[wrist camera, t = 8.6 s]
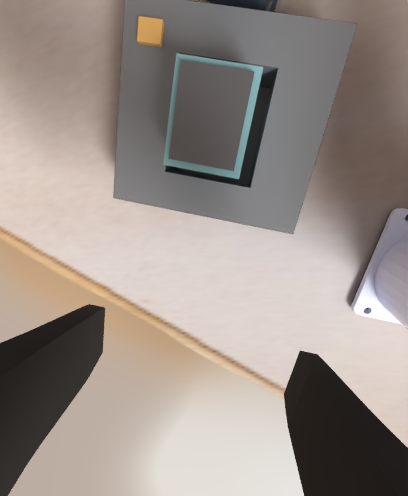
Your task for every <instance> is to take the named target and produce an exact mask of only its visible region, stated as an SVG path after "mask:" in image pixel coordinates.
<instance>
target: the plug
mask: <svg viewBox="0 0 408 496" xmlns="http://www.w3.org/2000/svg"><path fill="white" fill-rule="evenodd" d="M262 71H263V67H260V66H254V65H248V64H241V63H235V62H229V61H223V60H216V59H210V58H204V57H197V56H191V55H185V54H178V53H176V61H175V70H174V78H173V86H172V95H171V103H170V111H169V120H168V128H167V136H166V145H165V153H164V161H163V165H167V166H173V167H178V168H183V169H188V170H193V171H199V172H204V173H209V174H214V175H219V176H225V177H230V178H235V179H239V177H240V172H241V168H242V163H243V158H244V154H245V149H246V145H247V140H248V135H249V131H250V126H251V122H252V117H253V113H254V108H255V103H256V99H257V94H258V90H259V85H260V81H261V76H262Z"/></svg>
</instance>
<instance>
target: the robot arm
mask: <svg viewBox="0 0 408 496" xmlns="http://www.w3.org/2000/svg"><path fill="white" fill-rule="evenodd" d="M406 215H408V209H404V208H397V209H394V210H393V211H392V212H391V214H390V216H389V218H388V221H387V223H386V225H385V228H384V230H383V232H382V235H381V237H380V239H379V242H378V244H377V246H376V249H375V251H374V253H373V256H372V258H371V261H370V263H369V265H368V268H367V270H366V272H365V275H364V277H363V279H362V282H361V284H360V286H359V289H358V291H357V293H356V296H355V298H354V301H353V303H352V305H351V309H352V311H353V312H354V313H355V314H357V315H362V316H366V317H371V318H375V319H380V320H384V321H389V322H393V323H398V324H403V325H404V326H405V327H406V328H407V329H408V220H405V217H406ZM365 308H369V309H368V310H366V311H364V309H365ZM104 317H105V308H104V307H99V306H95V305H90V304H89V305H86V306H84V307H81V308H79V309H77V310H75V311H72V312H70V313H68V314H66V315H64V316H62V317H59V318H57V319H55V320H53V321H51V322H48V323H46V324H44V325H42V326H40V327H37V328H35V329H33V330H31V331H28V332H26V333H24V334H22V335H19V336H16V337H14V338H12V339H9V340H7V341H4V342H2V343H0V496H8V494H9V493H10V491H11V489H12V488H13V486H14V485H15V483H16V481H17V479H18V478H19V476H20V475H21V473H22V472H23V470H24V468H25V467H26V465H27V464H28V462H29V461H30V459H31V458H32V456H33V455H34V453H35V452H36V450H37V449H38V447H39V446H40V445H41V443H42V442H43V440H44V439H45V437H46V436H47V435H48V433H49V432H50V431H51V429H52V428H53V427H54V425H55V424H56V422H57V421H58V420H59V418H60V417H61V415H62V414H63V413H64V411H65V410H66V409H67V407H68V406H69V405H70V403H71V402H72V400H73V399H74V398H75V396H76V395H77V393H78V392H79V391H80V389H81V388H82V386H83V385H84V384H85V382H86V381H87V379H88V377H89V376H90V374H91V372H92V371H93V369H94V367H95V365H96V363H97V362H98V360H99V358H100V356H101V354H102V352H103V335H104ZM284 399H285V408H286V416H287V423H288V429H289V433H290V438H291V442H292V446H293V450H294V454H295V459H296V463H297V467H298V471H299V476H300V480H301V484H302V488H303V492H304V496H408V448H407V447H406V446H405V445H404V444H403V443H402V442H401V441H400V440H399V439H398V438H397V437H396V436H395V435H394V434H393V433H392V432H391V431H390V430H389V429H388V428H387V427H386V426H385V425H384V424H383V423H382V422H381V421H380V420H379V419H378V418H377V417H376V416H375V415H374V414H373V413H372V412H371V411H370V410H369V409H368V408H367V406H366V405H365V404H364V403H363V402H362V401H361V400H360V399H359V398H358V397H357V396H356V395H355V394H354V393H353V392H352V390H351V389H350V388H349V387H348V386H347V385H346V384H345V383H344V382H343V381H342V380H341V379H340V378H339V376H338V375H337V374H336V373H335V372H334V371H333V370H332V369H331V368H330V367H329V366H328V365H327V364H326V363H325V362H324V361H323V359H321V358H320V357H319V356H318V355H317V354H313V353H308V352H304V351H300V352H299V355H298V358H297V360H296V363H295V366H294V368H293V371H292V374H291V376H290V379H289V382H288V385H287V387H286V390H285V393H284Z"/></svg>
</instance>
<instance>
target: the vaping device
mask: <svg viewBox="0 0 408 496" xmlns="http://www.w3.org/2000/svg"><path fill="white" fill-rule="evenodd" d="M208 1H210V2H212V3H213V4H218V5H226V6H233V7H240V8H247V9H255V10H262V11H269V12H273V11H274V9H275V6H276V3H277V0H208Z"/></svg>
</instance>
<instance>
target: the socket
mask: <svg viewBox="0 0 408 496" xmlns="http://www.w3.org/2000/svg"><path fill="white" fill-rule="evenodd" d="M356 27H357V24H356V23H349V22H341V21H334V20H327V19H320V18H312V17H305V16H298V15H291V14H284V13H276V12H269V11H262V10H255V9H247V8H240V7H233V6H226V5H218V4H211V3H204V2H197V1H189V0H125V4H124V21H123V38H122V56H121V73H120V91H119V108H118V125H117V143H116V160H115V177H114V195H113V198H116V199H121V200H126V201H130V202H135V203H140V204H145V205H150V206H155V207H160V208H165V209H170V210H175V211H180V212H185V213H190V214H195V215H200V216H205V217H210V218H215V219H220V220H225V221H230V222H234V223H239V224H244V225H249V226H254V227H259V228H264V229H269V230H274V231H279V232H284V233H289V234H293V233H294V230H295V227H296V223H297V220H298V217H299V214H300V210H301V207H302V204H303V200H304V197H305V194H306V191H307V187H308V184H309V181H310V177H311V174H312V171H313V168H314V164H315V161H316V158H317V154H318V151H319V148H320V145H321V141H322V138H323V135H324V132H325V128H326V125H327V122H328V118H329V115H330V112H331V109H332V105H333V102H334V99H335V95H336V92H337V89H338V86H339V82H340V79H341V76H342V72H343V69H344V66H345V63H346V59H347V56H348V53H349V50H350V46H351V43H352V40H353V36H354V33H355V30H356ZM176 53H178V54H185V55H191V56H197V57H204V58H210V59H216V60H223V61H229V62H235V63H241V64H248V65H254V66H260V67H263V71H262V76H261V81H260V85H259V90H258V94H257V99H256V103H255V108H254V113H253V117H252V122H251V126H250V131H249V135H248V140H247V145H246V149H245V154H244V158H243V163H242V168H241V172H240V177H239V179H235V178H230V177H225V176H219V175H214V174H209V173H204V172H199V171H193V170H188V169H183V168H178V167H173V166H167V165H163V161H164V153H165V145H166V136H167V128H168V120H169V111H170V103H171V95H172V86H173V78H174V70H175V61H176Z"/></svg>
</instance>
